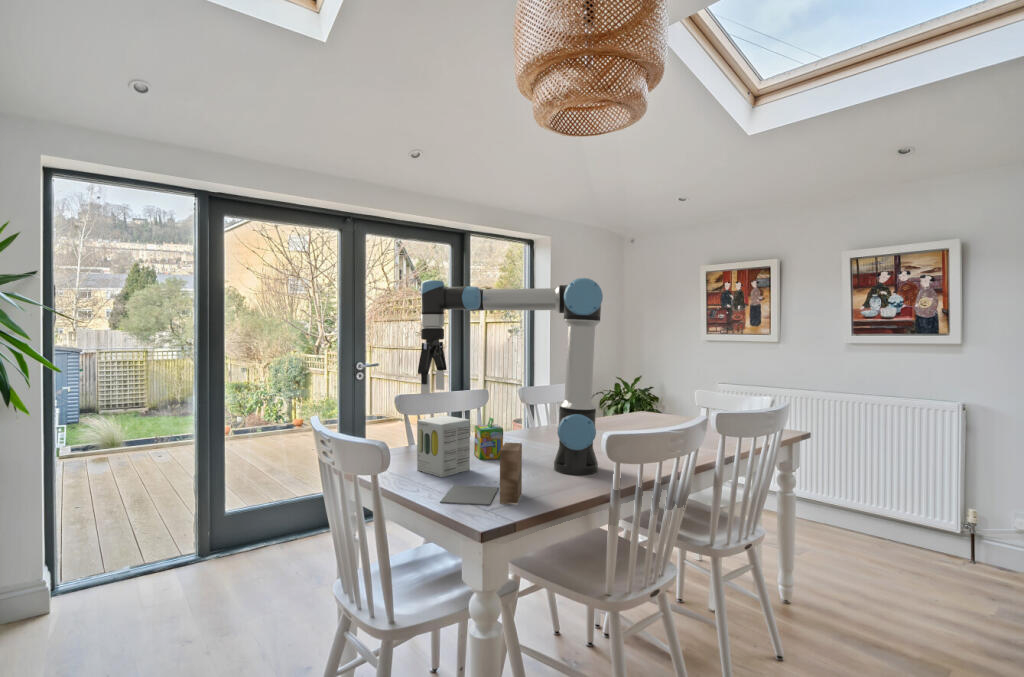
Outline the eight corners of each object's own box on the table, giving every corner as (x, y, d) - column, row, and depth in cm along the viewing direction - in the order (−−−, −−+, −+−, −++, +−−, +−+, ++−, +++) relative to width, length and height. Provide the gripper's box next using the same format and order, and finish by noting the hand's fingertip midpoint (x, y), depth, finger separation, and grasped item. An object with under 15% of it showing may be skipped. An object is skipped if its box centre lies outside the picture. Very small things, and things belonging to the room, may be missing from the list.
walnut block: (521, 493, 161) (521, 443, 160) (517, 504, 151) (517, 450, 150) (504, 492, 161) (505, 442, 161) (499, 503, 151) (499, 450, 151)
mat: (498, 488, 166) (498, 487, 166) (489, 505, 150) (489, 504, 150) (453, 486, 167) (453, 485, 167) (440, 503, 152) (440, 501, 152)
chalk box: (473, 455, 209) (474, 416, 208) (496, 453, 211) (497, 415, 211) (479, 460, 200) (479, 420, 199) (503, 459, 203) (503, 419, 202)
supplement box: (415, 470, 186) (415, 419, 185) (444, 463, 196) (444, 415, 195) (442, 477, 177) (442, 424, 177) (470, 469, 187) (470, 419, 187)
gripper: (434, 327, 192) (435, 387, 193) (406, 327, 168) (407, 396, 168) (455, 327, 191) (455, 387, 191) (429, 327, 166) (430, 396, 167)
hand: (432, 392), depth 180 cm, fingers open, 13 cm apart
